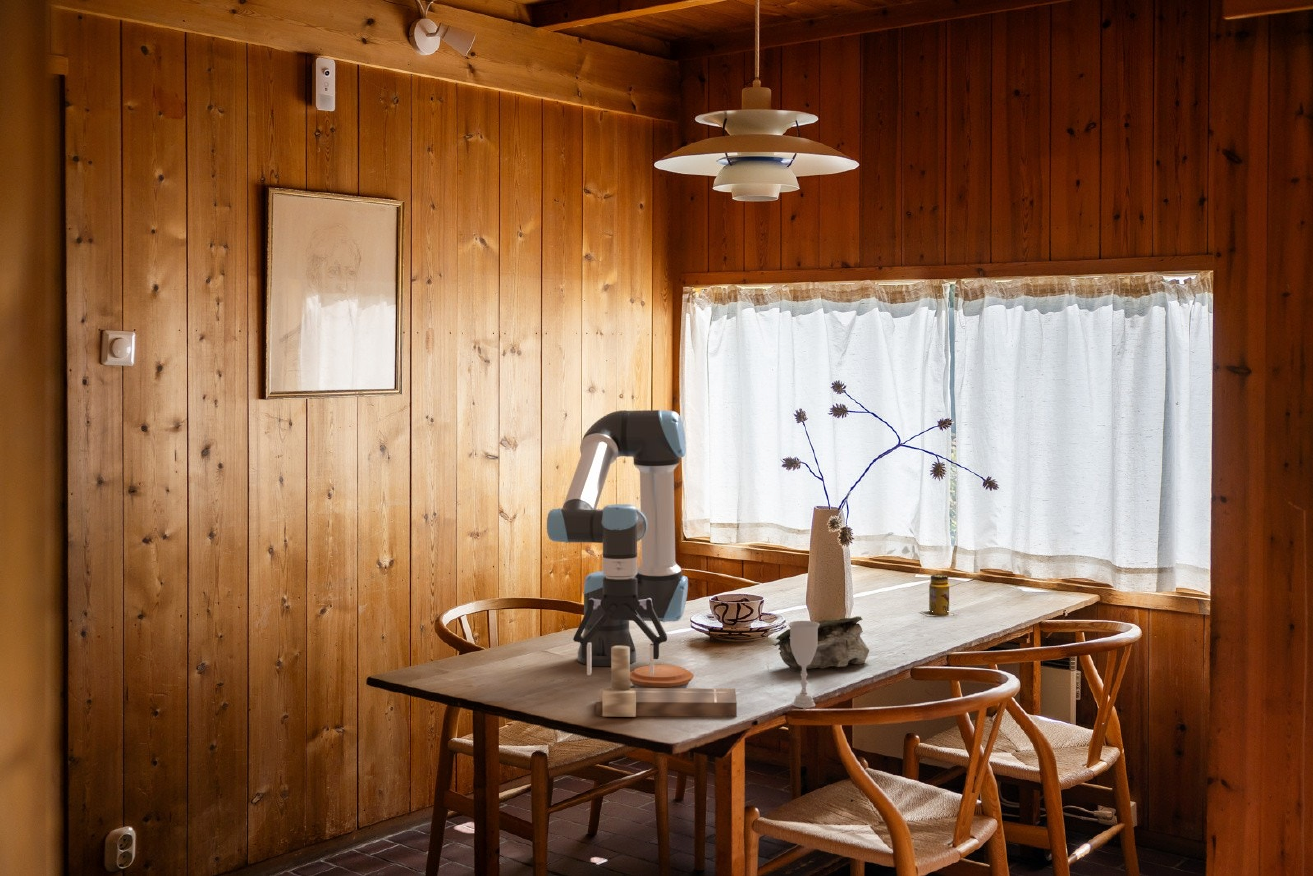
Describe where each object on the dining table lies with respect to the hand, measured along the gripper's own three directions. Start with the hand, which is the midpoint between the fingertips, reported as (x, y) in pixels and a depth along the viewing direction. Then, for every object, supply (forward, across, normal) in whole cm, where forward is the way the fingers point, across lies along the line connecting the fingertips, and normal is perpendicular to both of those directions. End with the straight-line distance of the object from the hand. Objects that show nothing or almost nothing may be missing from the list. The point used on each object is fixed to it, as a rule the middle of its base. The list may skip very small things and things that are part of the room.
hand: (620, 674), depth 261 cm
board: (+8, +10, +2) cm, 13 cm away
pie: (+9, +8, +19) cm, 23 cm away
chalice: (+8, +40, +6) cm, 41 cm away
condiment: (+8, +90, +115) cm, 146 cm away
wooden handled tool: (+8, 0, 0) cm, 8 cm away
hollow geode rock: (+8, +47, +43) cm, 65 cm away
